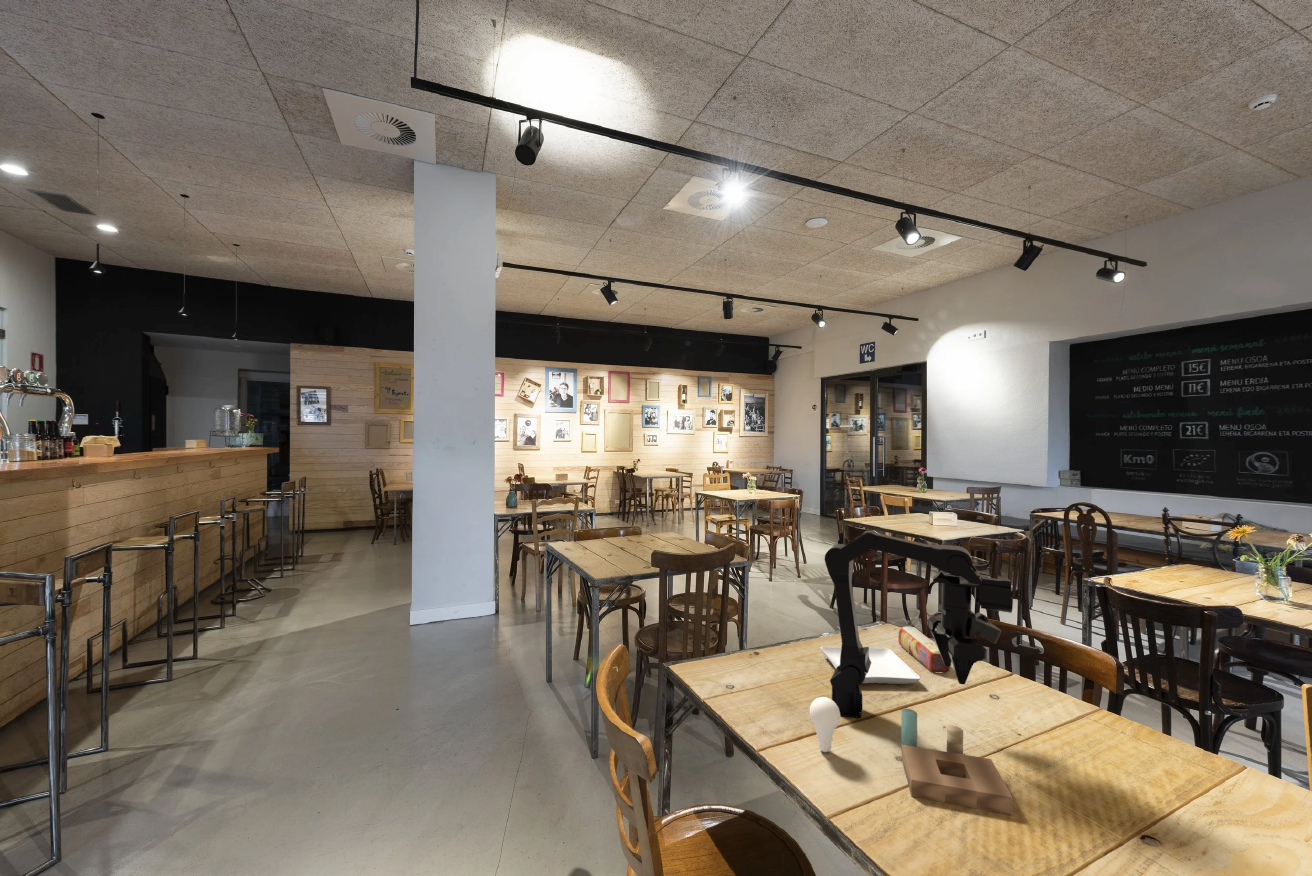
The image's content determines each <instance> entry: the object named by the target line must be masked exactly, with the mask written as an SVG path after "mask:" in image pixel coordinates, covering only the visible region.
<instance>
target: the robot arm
mask: <svg viewBox="0 0 1312 876" xmlns="http://www.w3.org/2000/svg"><path fill="white" fill-rule="evenodd" d="M870 550H874V551H878V552H882V553H886V554H888V555H889V554H890V555H893V556H897V557H902V558H906V559H909V560H915V561H917V562H921V563H922V562H923V563H925V564H928V565H930V566H932V567H934V568H936V569H937V570H939V572H938V573H937V574H935V575H934V576H932V577H933V578H932V582H933V583H939V584H941V604H938V610H939V611H940V612H941V614H940V615H939V616H937V615H932V616H931V617H930V618H928V628H929V629H930V634H931V635H932V638H933V640H934V643H936V645H937V648H938V650H939V652H940V655H941V657H942V660H943V662H944V665H945V666H946V667H950V668H951V666H952V667H953V669H954V673H955V676H956V678H957V679H956V680H957V682H958V683H959V685H966V682H967V681H968V678H969V675H970V672H971V669H972V668H973V665H974V664H975V663H977V662H982V661H983V660H987V655H988V652H987V651H988V650H987V648H985V646H983V644H982V643H981V642H979V641H978V639H976V638H977V637H980V638H982V639H984V640H986V641H989V642H990V643H991V644H995V645H996V644H997V642H998V640H999V638H1000V635H1001V633H1002V630H1001V629H1000V628H999V627H997V626H996V625H995V624H993V623H991V622H990V621H989V620H988V619H989V618H988V616H986V614H983V613H980V612H976V613H975V612H974V611H972V589H974V603H975V604H978V606H980V609H983V610H991V611H997V612H1001V613H1002V612H1003V613H1009V614H1012V613H1013V607H1014V598H1013V596H1012V582H1011V580H1010V578H1009V579H1008V578H994V577H985V576H984V577H983V576H982V575H981V573H980V571H979V570H977V568H976V567H975V566H974V564H973V559H972V556H971V553H970V552H969V551H968V550H967V549H966V548H965V547H963V546H959V545H951V544H927V543H922V542H918V541H914V540H909V539H905V538H900V537H896V536H892V535H888V534H883V533H881V532H880V533H879V532H875V531H874V530H865V531H863V532H862V534H860V535H859V536H857V537H855V538H853V539H852V540H849V541H848V542H846V543H845V544H843V543H837V544H834V545H833V546H832V547H830V548H829V549H828V551H827V552H826V553H825V555H824V563H825V566H826V569H827V572H828V575H829V577H830V580H831V582H832V583H833V586H834V587H833V588H834V594H835V595H834V596H835V603H836V610H837V616H838V623H839V624H838V625H839V631H840V639H841V646H840V647H841V656H840V665H839V666H838V667H837V668H835V670H834V672H833V674H832V675H831V678H830V680H829V682H830V686H831V700H832V701H834V702H835V703H836V705H837V706H838V708H839V711H840V716H845V717H851V718H856V719H857V718H858V719H860V718H861V716H862V715H861V713H862V712H863V692H862V690H861V689H860V685H861V684H863V683H862V682H863V681H864V679H865V677H866V674H867V673H868V671H869V668H870V665H871V661H870V659H869V648H870V647H869V646H863V644H862V642H861V640H860V633H859V625H858V620H857V611H856V606H855V605H856V604H855V598H854V592H853V591H854V590H853V584H852V580H853V571H854V560H855V559H857V558H859V557H860V556H861V555H863V554H865V553H866V552H867V551H870ZM961 578H962V579H961ZM963 579H964V580H963Z"/></svg>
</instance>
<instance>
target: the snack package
mask: <svg viewBox="0 0 1312 876" xmlns="http://www.w3.org/2000/svg"><path fill="white" fill-rule="evenodd" d="M897 636H898V641H897V642H898V644H899V645H900V647H902V648H903V649H905V650H906V651H907V652H908V653H909V654H910V655H911V656H913V658H915V659H916V660H918V662H920V663H921V664H922V665H923V666H925V668H926V669H927V670H928V671H929V672H930V673H932V672H943V673H942V674H947V673H949V672H950V669H951V666H950V667H946V666H945V665H944V662H943V660H942V657H941V655H940V652H939V650H938V648H937V645H936V643H935V641H933V640H932V639H930V638H929V637H928V636H926V635H925V634H923V633H922V632H921V630H919V629H918V628H916V627H913V626H903V627H901V628H900V629H899V631H898V635H897ZM946 672H947V673H946Z"/></svg>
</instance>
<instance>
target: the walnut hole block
mask: <svg viewBox="0 0 1312 876" xmlns="http://www.w3.org/2000/svg"><path fill="white" fill-rule="evenodd" d="M901 761H902V766H903V770H904V774H905V779H906V781H907V784H908V788H909V789H908V790H909V792H910V797H914V798H920V799H925V800H930V801H935V802H941V803H945V804H946V803H947V804H952V805H958V806H962V807H966V808H967V807H968V808H973V809H979V810H984V811H988V812H989V811H990V812H994V813H1001V814H1005V815H1011V816H1013V796H1012V794H1011V793H1010V790H1009V789H1008V786H1007V785H1006V783H1005V782H1004V780H1003V778H1002V776H1001V774H1000V773H999V770H998V768H997V766H996V765H995V763H994V762H993V760H992V758H989V757H982V756H975V755H968V754H964V753H963V754H957V753H951V752H947V751H944V750H939V749H938V750H937V749H932V748H925V747H919V746H917V747H914V746H907V745H902V750H901Z"/></svg>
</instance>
